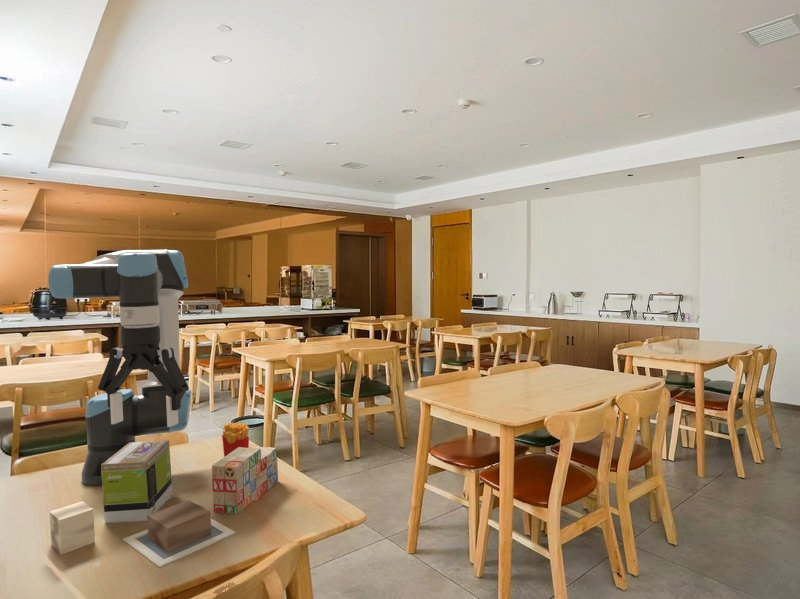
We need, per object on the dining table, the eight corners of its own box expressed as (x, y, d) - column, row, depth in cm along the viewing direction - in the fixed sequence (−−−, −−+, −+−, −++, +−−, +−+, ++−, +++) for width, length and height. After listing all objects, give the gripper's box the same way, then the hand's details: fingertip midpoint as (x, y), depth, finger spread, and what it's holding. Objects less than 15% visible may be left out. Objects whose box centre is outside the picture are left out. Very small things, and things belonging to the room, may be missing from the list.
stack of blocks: (256, 479, 139) (255, 435, 138) (278, 481, 138) (277, 436, 137) (213, 517, 118) (211, 464, 117) (238, 519, 117) (236, 466, 116)
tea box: (132, 498, 128) (129, 440, 127) (173, 496, 129) (171, 438, 128) (103, 528, 113) (99, 462, 112) (150, 525, 114) (147, 460, 113)
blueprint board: (123, 544, 106) (123, 538, 106) (196, 515, 118) (196, 510, 118) (159, 572, 96) (159, 566, 96) (235, 537, 108) (235, 531, 108)
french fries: (220, 468, 147) (218, 424, 146) (231, 463, 151) (230, 420, 150) (242, 474, 142) (241, 428, 142) (254, 469, 146) (252, 424, 145)
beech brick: (51, 549, 105) (49, 511, 104) (84, 537, 109) (82, 501, 109) (61, 559, 101) (59, 520, 100) (95, 547, 105) (93, 509, 105)
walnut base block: (148, 538, 106) (147, 515, 106) (189, 521, 113) (188, 499, 113) (168, 553, 101) (167, 528, 100) (211, 534, 107) (210, 511, 107)
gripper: (76, 327, 108) (81, 426, 109) (182, 328, 103) (186, 431, 104) (103, 323, 115) (107, 416, 117) (203, 324, 110) (206, 421, 112)
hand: (144, 423), depth 110 cm, fingers open, 13 cm apart
